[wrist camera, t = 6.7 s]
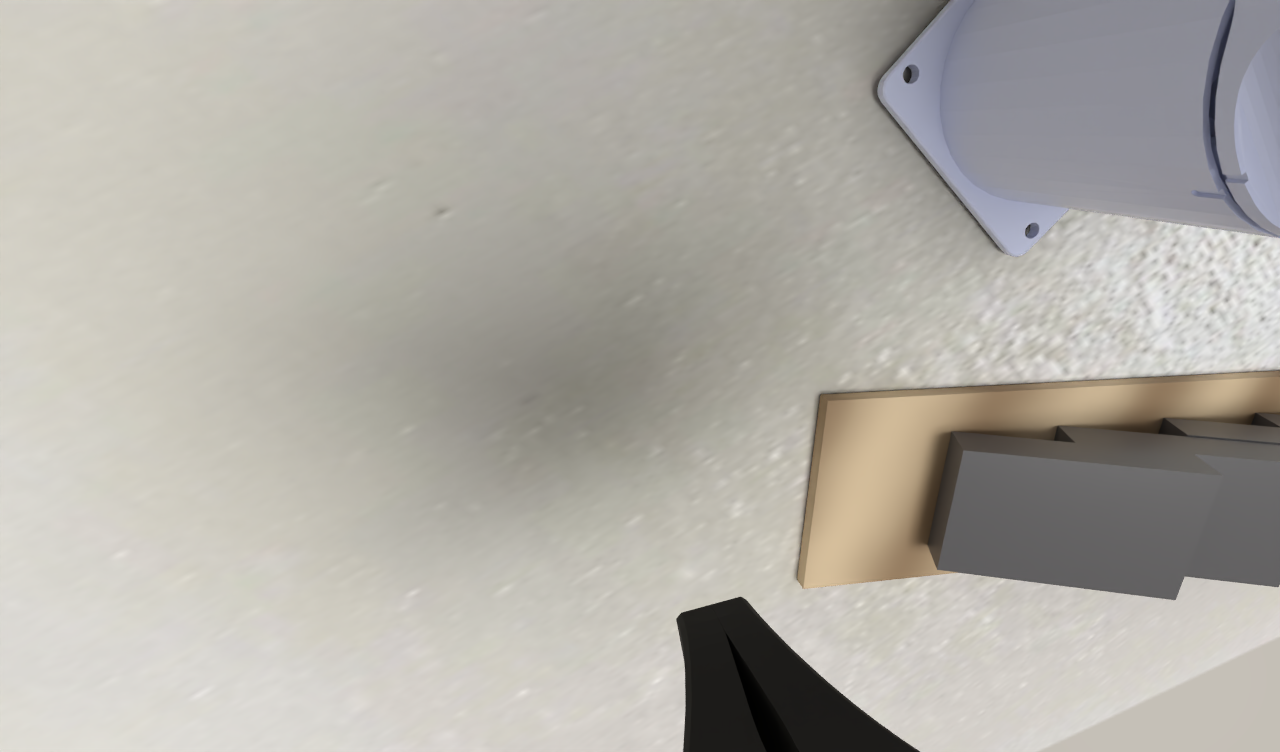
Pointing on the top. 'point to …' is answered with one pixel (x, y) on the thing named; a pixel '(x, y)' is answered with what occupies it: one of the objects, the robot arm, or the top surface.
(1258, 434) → the domino
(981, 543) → the domino
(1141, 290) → the top surface
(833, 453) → the board
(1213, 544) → the domino
